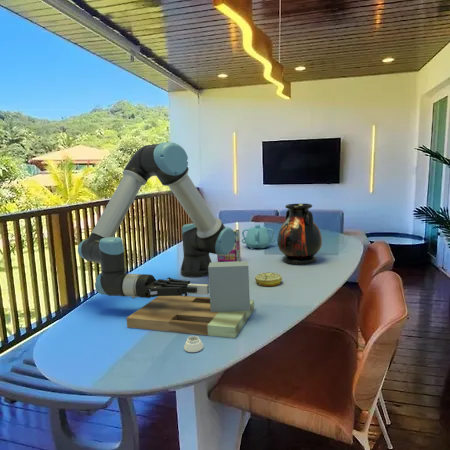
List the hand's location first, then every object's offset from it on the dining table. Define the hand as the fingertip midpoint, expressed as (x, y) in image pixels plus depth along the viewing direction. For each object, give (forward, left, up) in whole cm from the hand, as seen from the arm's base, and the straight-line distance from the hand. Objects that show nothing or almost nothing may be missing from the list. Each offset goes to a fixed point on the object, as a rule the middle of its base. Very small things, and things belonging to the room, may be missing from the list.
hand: (207, 289), depth 114 cm
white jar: (+19, +3, -10) cm, 22 cm away
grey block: (-3, +6, -6) cm, 9 cm away
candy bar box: (-73, -16, -10) cm, 75 cm away
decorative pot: (-109, -9, -10) cm, 110 cm away
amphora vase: (-78, +19, -10) cm, 81 cm away
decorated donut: (-40, +11, -10) cm, 43 cm away
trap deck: (0, -5, -9) cm, 11 cm away
